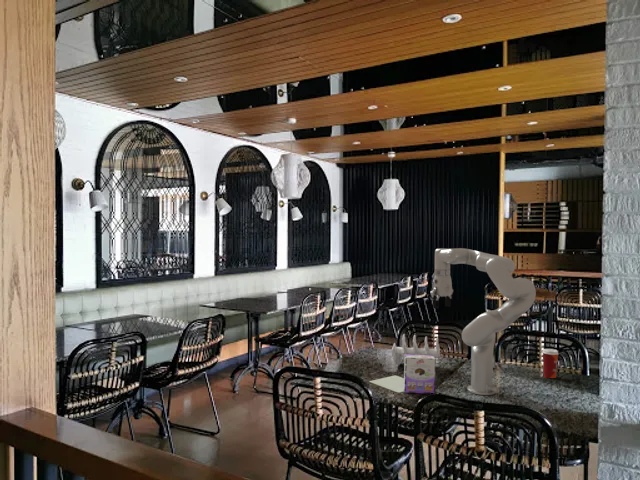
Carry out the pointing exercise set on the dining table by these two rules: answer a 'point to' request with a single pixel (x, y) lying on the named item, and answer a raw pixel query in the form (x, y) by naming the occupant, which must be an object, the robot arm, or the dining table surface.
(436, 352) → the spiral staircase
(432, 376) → the candy box
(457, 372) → the dining table surface
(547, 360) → the paper cup
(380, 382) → the mat
